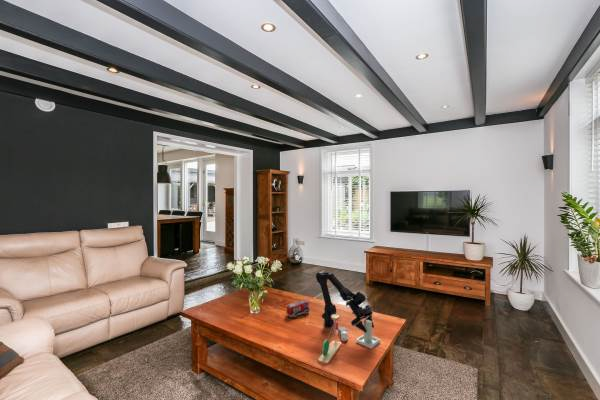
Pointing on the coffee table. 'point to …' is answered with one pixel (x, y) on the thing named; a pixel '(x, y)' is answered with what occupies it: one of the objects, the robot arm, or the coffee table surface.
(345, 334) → the white rounded cylinder
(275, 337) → the coffee table surface
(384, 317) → the coffee table surface
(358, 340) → the white tray
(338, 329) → the grey block
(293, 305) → the toy fire truck
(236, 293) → the coffee table surface
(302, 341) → the coffee table surface
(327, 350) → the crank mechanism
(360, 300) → the robot arm
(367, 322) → the pale green cylinder
